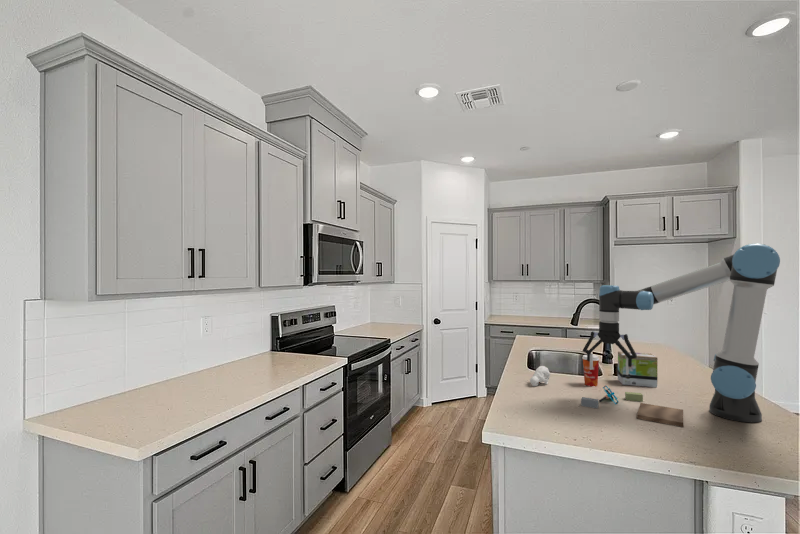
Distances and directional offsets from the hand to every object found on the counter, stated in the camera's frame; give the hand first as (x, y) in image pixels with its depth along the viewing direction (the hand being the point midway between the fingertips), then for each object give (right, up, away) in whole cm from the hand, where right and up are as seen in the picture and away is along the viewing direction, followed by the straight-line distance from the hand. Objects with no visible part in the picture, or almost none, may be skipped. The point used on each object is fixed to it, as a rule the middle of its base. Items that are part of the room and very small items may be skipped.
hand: (608, 371), depth 165 cm
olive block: (+12, -13, +1) cm, 17 cm away
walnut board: (+10, -12, -17) cm, 24 cm away
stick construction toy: (0, -13, 0) cm, 13 cm away
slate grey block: (-11, -13, -6) cm, 18 cm away
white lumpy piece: (-21, -13, +25) cm, 35 cm away
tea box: (+28, -13, +26) cm, 40 cm away
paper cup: (+4, -13, +24) cm, 28 cm away
